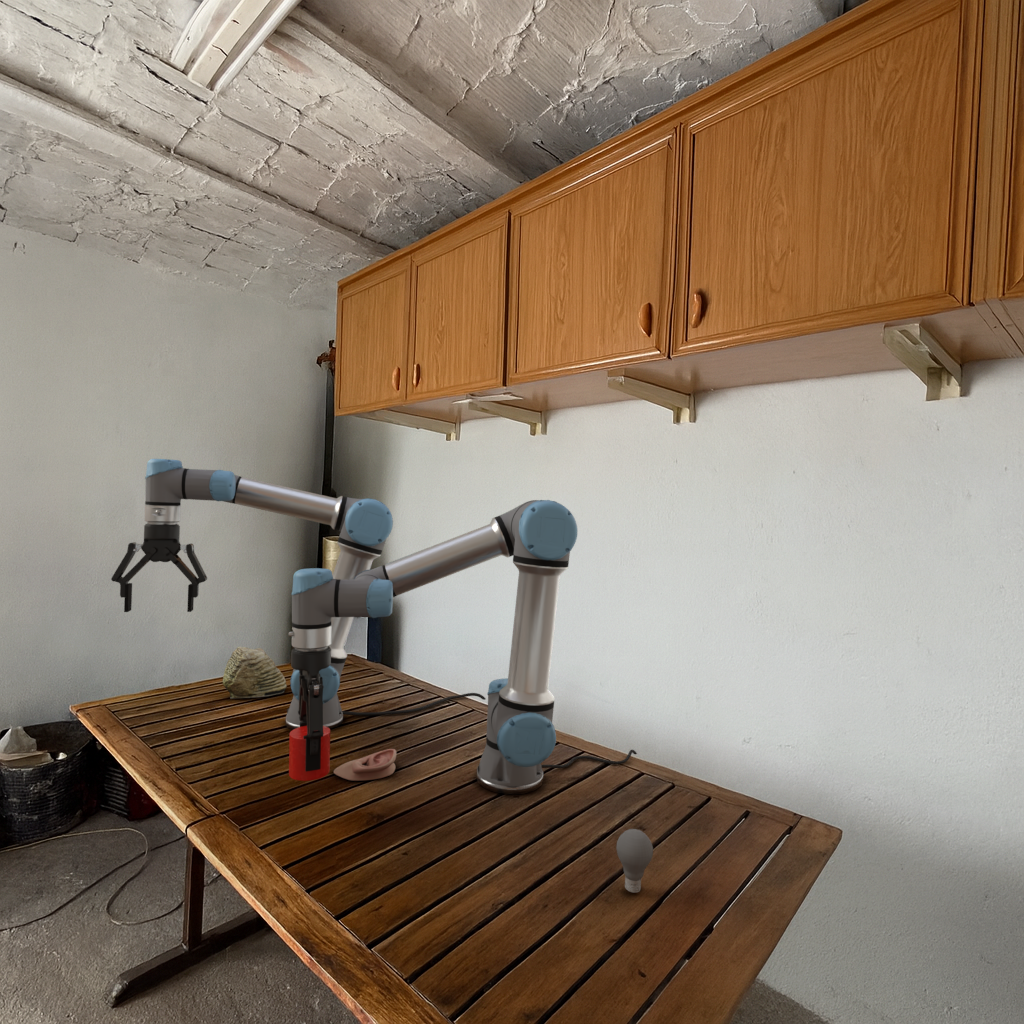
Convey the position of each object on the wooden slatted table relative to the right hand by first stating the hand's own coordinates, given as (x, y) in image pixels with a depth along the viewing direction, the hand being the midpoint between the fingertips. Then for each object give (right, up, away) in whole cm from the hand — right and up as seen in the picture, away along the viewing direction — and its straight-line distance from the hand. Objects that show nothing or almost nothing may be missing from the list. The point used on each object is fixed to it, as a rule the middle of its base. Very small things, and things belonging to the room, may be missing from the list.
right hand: (309, 761), depth 126 cm
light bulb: (+60, -14, -20) cm, 65 cm away
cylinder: (0, -2, 0) cm, 2 cm away
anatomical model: (+6, -11, +21) cm, 24 cm away
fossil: (-40, -8, +72) cm, 83 cm away
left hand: (-45, +26, +27) cm, 58 cm away
